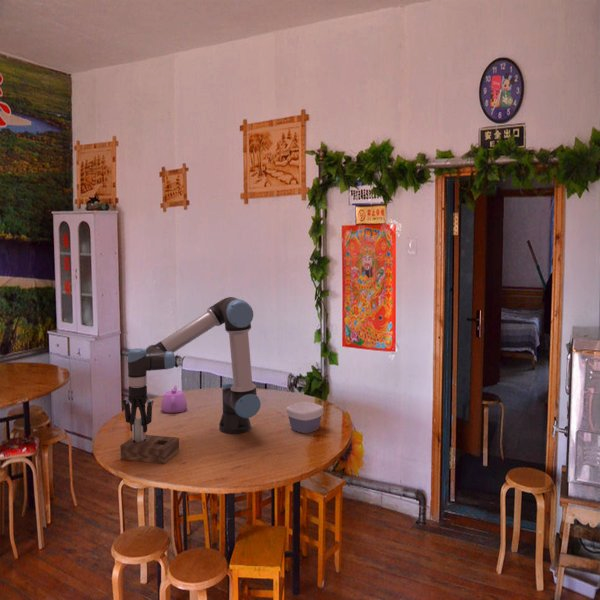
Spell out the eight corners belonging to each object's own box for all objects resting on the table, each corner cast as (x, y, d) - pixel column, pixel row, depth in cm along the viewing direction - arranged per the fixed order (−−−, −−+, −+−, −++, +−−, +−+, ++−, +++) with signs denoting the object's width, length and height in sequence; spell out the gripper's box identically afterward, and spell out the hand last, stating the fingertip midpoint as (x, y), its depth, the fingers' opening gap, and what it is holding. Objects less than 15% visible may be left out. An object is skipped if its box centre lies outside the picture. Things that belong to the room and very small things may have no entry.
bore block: (179, 451, 258) (178, 437, 257) (164, 463, 245) (164, 449, 244) (137, 447, 263) (136, 433, 262) (120, 459, 249) (120, 445, 248)
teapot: (188, 403, 326) (187, 384, 325) (186, 415, 306) (185, 394, 305) (163, 404, 324) (162, 384, 323) (159, 416, 305) (159, 395, 303)
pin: (145, 449, 256) (144, 418, 254) (141, 452, 253) (140, 420, 251) (137, 448, 257) (136, 417, 255) (134, 451, 253) (132, 420, 251)
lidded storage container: (327, 429, 287) (327, 406, 285) (305, 437, 275) (306, 414, 274) (303, 421, 297) (304, 400, 296) (282, 429, 286) (282, 407, 284)
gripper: (159, 384, 253) (160, 437, 256) (124, 381, 256) (126, 434, 259) (151, 389, 245) (152, 443, 248) (115, 386, 249) (117, 440, 252)
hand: (139, 438), depth 254 cm, fingers closed on pin, 3 cm apart
